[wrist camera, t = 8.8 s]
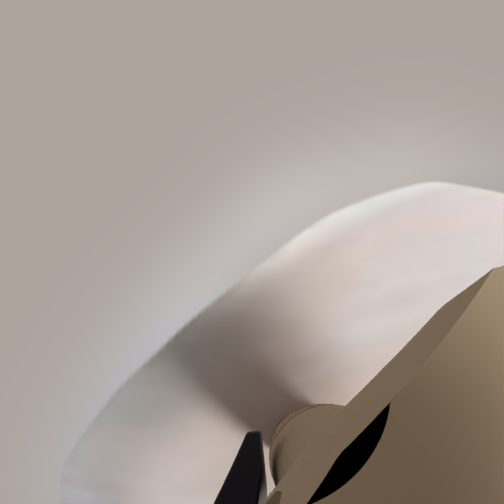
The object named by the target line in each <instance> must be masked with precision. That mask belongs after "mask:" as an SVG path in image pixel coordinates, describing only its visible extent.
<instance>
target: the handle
mask: <svg viewBox="0 0 504 504" xmlns="http://www.w3.org/2000/svg"><path fill="white" fill-rule="evenodd" d="M269 461H270V471H271V475H272V478H273V480H274V483H275V486H276V487H275V488H274V490H273V491H272V492H271V493H270V495H269V496H268V497H267V498H266V500H265V501H264V502H263V504H504V266H502V267H498V268H494V269H492V270H491V271H489V272H488V273H487V274H486V275H484V276H483V277H482V278H480V279H479V280H478V281H476V282H475V283H474V284H472V285H471V286H469V287H468V288H467V289H465V290H464V291H463V292H461V293H460V294H459V295H457V296H456V297H454V298H453V299H452V300H450V301H449V302H448V303H446V304H445V305H444V306H443V307H442V308H441V309H439V310H438V311H437V312H436V314H435V315H434V316H433V317H432V318H431V319H430V320H429V321H428V322H427V323H426V325H425V326H424V327H423V328H422V329H421V330H420V331H419V332H418V333H417V334H416V335H415V336H414V337H413V338H412V339H411V340H410V341H409V342H408V344H407V345H406V346H405V347H404V348H403V349H402V350H401V351H400V352H399V353H398V354H397V355H396V356H395V357H394V358H393V359H392V360H391V361H390V362H389V363H388V364H387V365H386V366H385V367H384V368H383V369H382V370H381V371H380V372H379V373H378V374H377V375H376V376H375V377H374V378H373V379H372V380H371V381H370V382H369V383H368V384H367V385H366V386H365V387H364V388H363V389H362V390H361V391H360V392H359V393H358V394H357V395H356V396H355V397H354V398H353V399H352V400H351V401H350V402H349V403H348V404H347V405H346V406H341V405H334V404H317V405H311V406H307V407H304V408H301V409H298V410H296V411H294V412H293V413H291V414H290V415H288V416H287V417H286V418H285V419H284V420H283V421H281V422H280V423H279V425H278V426H277V428H276V430H275V433H274V435H273V438H272V441H271V445H270V451H269Z"/></svg>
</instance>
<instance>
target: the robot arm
mask: <svg viewBox="0 0 504 504" xmlns="http://www.w3.org/2000/svg"><path fill="white" fill-rule="evenodd" d="M266 498H267V483H266V473H265V463H264V452H263V443H262V436H261V432H260V431H253V432H248V433H247V434H246V436H245V438H244V440H243V443H242V445H241V447H240V449H239V451H238V454H237V456H236V458H235V460H234V462H233V465H232V467H231V469H230V471H229V473H228V475H227V477H226V479H225V481H224V484H223V486H222V488H221V490H220V492H219V494H218V496H217V498H216V500H215V502H214V504H263V502H264V501H265V500H266Z"/></svg>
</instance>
